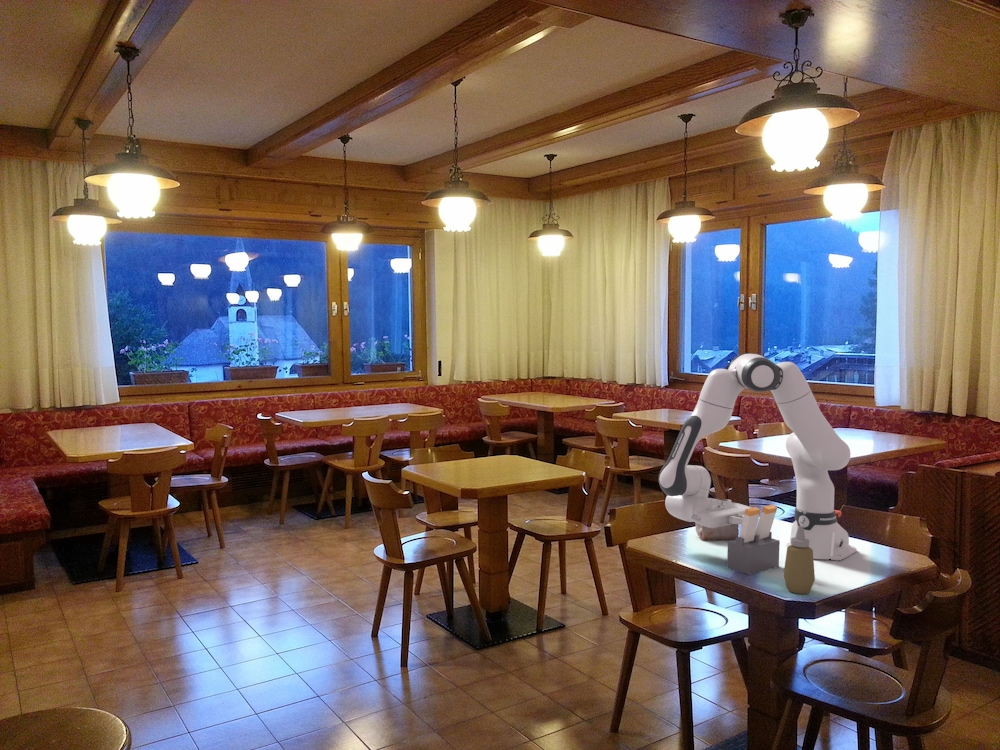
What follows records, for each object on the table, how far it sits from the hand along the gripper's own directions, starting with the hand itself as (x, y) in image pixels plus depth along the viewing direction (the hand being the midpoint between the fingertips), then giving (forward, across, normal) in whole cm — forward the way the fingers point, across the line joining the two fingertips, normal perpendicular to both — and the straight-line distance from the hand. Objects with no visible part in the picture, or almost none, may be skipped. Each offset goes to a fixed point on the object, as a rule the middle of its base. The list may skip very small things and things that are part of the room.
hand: (747, 521), depth 227 cm
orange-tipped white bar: (0, +7, +6) cm, 9 cm away
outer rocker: (0, 0, +6) cm, 6 cm away
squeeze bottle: (+20, -4, +15) cm, 25 cm away
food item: (-27, +20, +14) cm, 36 cm away
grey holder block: (0, +4, +14) cm, 15 cm away
